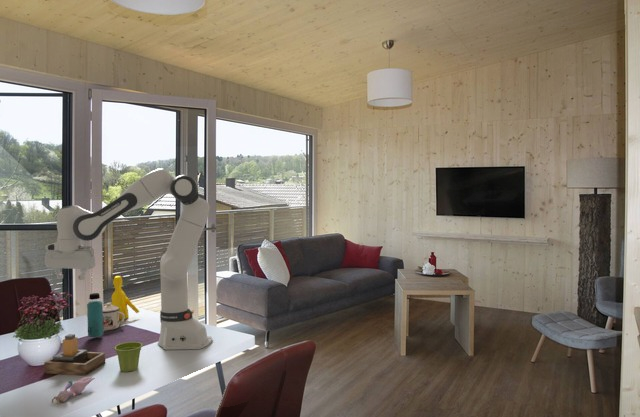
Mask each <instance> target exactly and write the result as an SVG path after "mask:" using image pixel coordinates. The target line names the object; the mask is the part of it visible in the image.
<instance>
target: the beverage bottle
mask: <svg viewBox="0 0 640 417" xmlns="http://www.w3.org/2000/svg"><path fill="white" fill-rule="evenodd" d="M88 296H89V297H88V298H89V300H90V301H89V302H87V304H86V308H87V310H86V312H87V313H86V317H87V324H86V325H87V328H86V329H87V337H89V338H99V337H102V336H103V335H104V330H103V329H104V327H103V325H104V324H103V307H104V306H103V301H101V300H99V299H100V298H101V296H100V293H98V292H94V293H90V294H89V295H88Z"/></svg>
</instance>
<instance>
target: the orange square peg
mask: <svg viewBox="0 0 640 417" xmlns="http://www.w3.org/2000/svg"><path fill="white" fill-rule="evenodd" d="M78 341H79V340H78V337H77V336H76V334H73V333H69V334H66V335H64V338H63V339H62V352H63V355H65V356H73V355H75V354H77V353H78V349H79V348H78V347H79V346H78V345H79V342H78Z"/></svg>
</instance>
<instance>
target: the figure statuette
mask: <svg viewBox="0 0 640 417" xmlns="http://www.w3.org/2000/svg"><path fill="white" fill-rule="evenodd" d="M123 284H124V283H123V279H122V276H121V275H116V276H114V278H113V280H112V285H113V286H114V291H113V292H112V294H111V302H110V303H111V305H114V306H117V307H119V312H122V313H123V314H124V315H125V318H124V320H126V319H128V318H129V316H130V315H129V308H131V310H133V311H134V313H135V314H139V313H140V310H139V309H138V308H137V307H136V306H135V304H133V302H131V300H130V298H129V297H127V294H126V293H125V291H124V290H123V289H122V286H123ZM128 307H129V308H128ZM122 318H123V316H122V315H121V314H119V321H121V320H122Z"/></svg>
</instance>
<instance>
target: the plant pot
mask: <svg viewBox="0 0 640 417" xmlns="http://www.w3.org/2000/svg"><path fill="white" fill-rule="evenodd" d="M142 347H143V343H141V342H138V341H127V342H122V343H119V344H117V345H115V346H114V349H115V351H116V354H117V358H118V364H119V365H118V366H119V369H120V371H121V372H123V373H128V372H131V371H137V370H138V368H139V361H140V355H141V350H142Z"/></svg>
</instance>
